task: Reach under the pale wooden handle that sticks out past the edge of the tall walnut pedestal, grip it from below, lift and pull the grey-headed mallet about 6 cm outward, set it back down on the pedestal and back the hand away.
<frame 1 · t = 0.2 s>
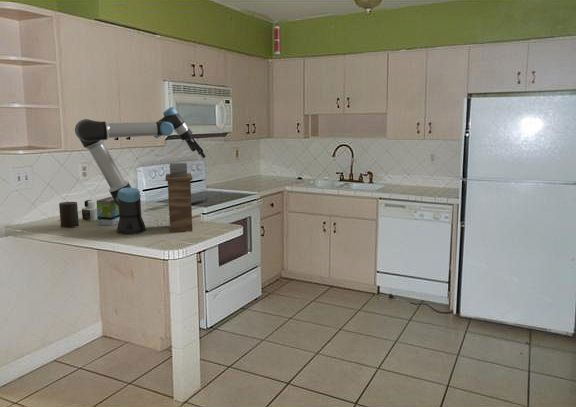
hand: (204, 160, 301), 36 cm above the counter, tool tilted 35°, fingers open, 13 cm apart
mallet: (178, 174, 281), point 30 cm above the counter, touching pedestal
pillar candle: (70, 226, 287), on the counter
medicine bottle: (91, 219, 304), on the counter
tea box: (112, 223, 295), on the counter
pedestal: (181, 228, 280), on the counter
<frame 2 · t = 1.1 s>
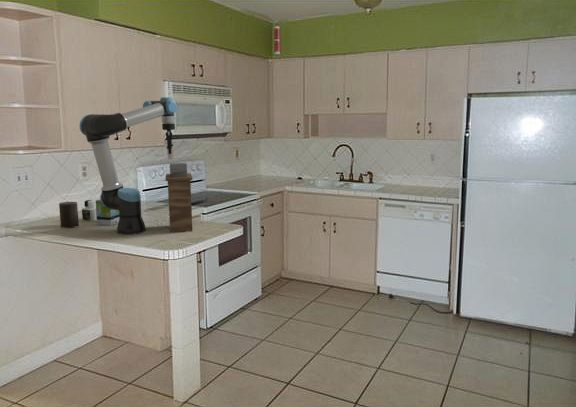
hand: (170, 158, 306), 37 cm above the counter, tool pointing down, fingers open, 13 cm apart
nothing on the counter moved.
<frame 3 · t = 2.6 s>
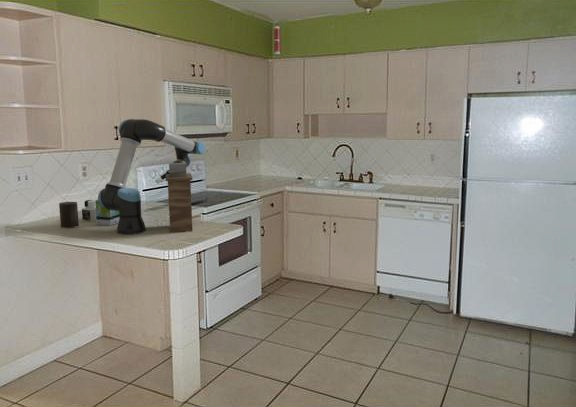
hand: (165, 176, 294), 27 cm above the counter, tool horizontal, fingers open, 13 cm apart
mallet: (178, 174, 281), point 30 cm above the counter, touching gripper, pedestal
everything else where it was.
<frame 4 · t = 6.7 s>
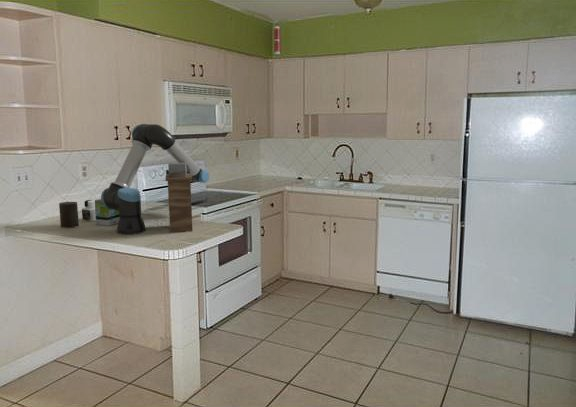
hand: (178, 166, 284), 34 cm above the counter, tool pointing upward, fingers open, 6 cm apart
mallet: (179, 174, 281), point 30 cm above the counter, touching gripper
everything else where it was.
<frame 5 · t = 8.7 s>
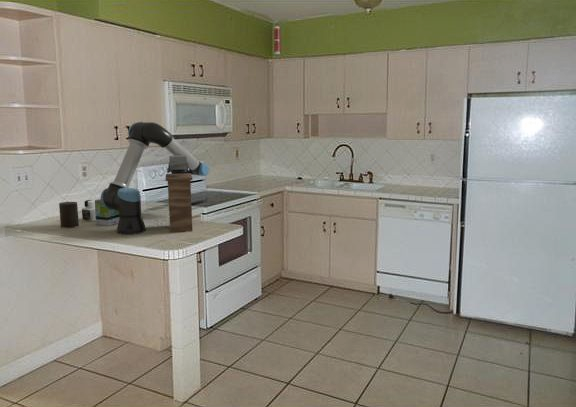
hand: (177, 159, 283), 38 cm above the counter, tool pointing upward, fingers closed on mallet, 3 cm apart
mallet: (178, 167, 280), point 34 cm above the counter, touching gripper
everything else where it was.
when the fingers open (35 cm above the counter, at t = 10.6 s): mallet stays where it is, resting on pedestal.
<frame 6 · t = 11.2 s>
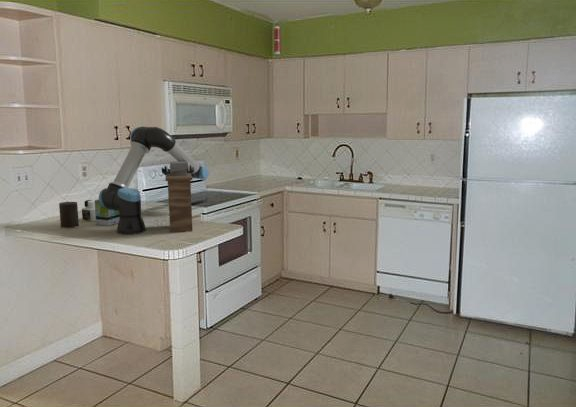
hand: (177, 164, 290), 34 cm above the counter, tool pointing upward, fingers open, 12 cm apart
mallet: (178, 173, 286), point 30 cm above the counter, touching pedestal
everything else where it was.
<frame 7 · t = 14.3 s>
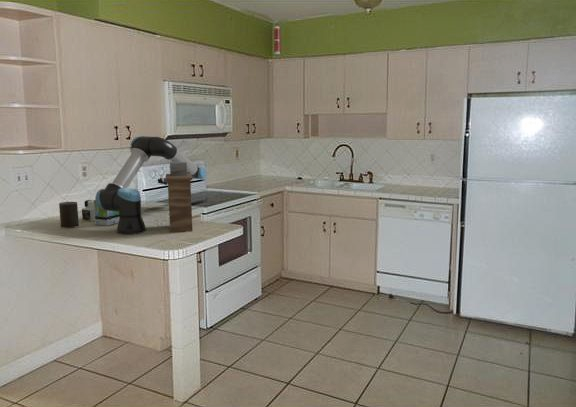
hand: (172, 174, 302), 27 cm above the counter, tool pointing upward, fingers open, 13 cm apart
tea box: (111, 223, 294), on the counter, touching arm
everything else where it was.
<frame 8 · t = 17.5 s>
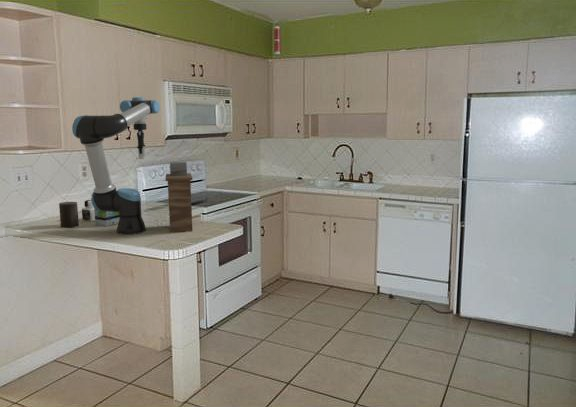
hand: (141, 158, 306), 37 cm above the counter, tool pointing down, fingers open, 13 cm apart
tea box: (111, 223, 294), on the counter
everything else where it was.
at the end: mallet moved 5.7 cm from its start; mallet point 30.0 cm above the counter; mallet tilted 0° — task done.
